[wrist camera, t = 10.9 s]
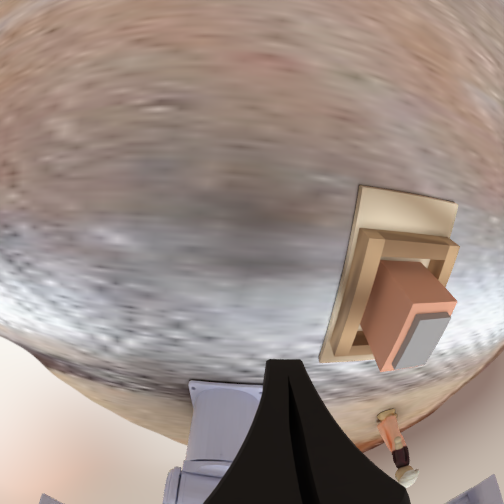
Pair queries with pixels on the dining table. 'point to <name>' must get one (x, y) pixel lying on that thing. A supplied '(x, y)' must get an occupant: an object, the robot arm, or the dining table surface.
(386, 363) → the salmon block
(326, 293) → the dining table surface
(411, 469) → the grandmother figurine
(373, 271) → the frame
